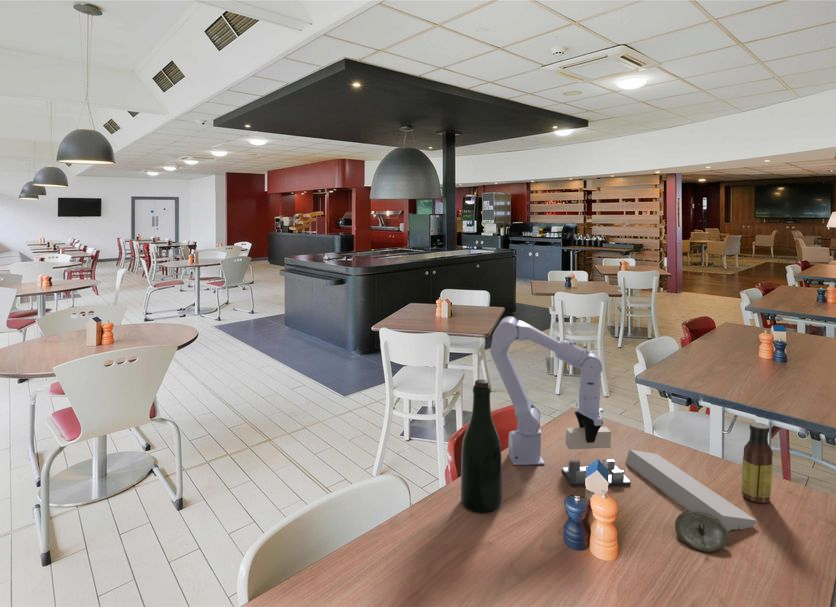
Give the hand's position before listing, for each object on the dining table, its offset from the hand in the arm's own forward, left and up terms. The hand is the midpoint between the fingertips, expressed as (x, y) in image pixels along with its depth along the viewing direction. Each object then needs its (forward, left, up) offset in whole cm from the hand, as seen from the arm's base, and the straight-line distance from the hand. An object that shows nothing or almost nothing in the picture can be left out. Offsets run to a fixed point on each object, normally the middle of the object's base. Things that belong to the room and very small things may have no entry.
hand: (587, 439), depth 142 cm
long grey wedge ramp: (+20, -15, -9) cm, 27 cm away
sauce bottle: (+37, -19, -9) cm, 42 cm away
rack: (0, -7, -8) cm, 11 cm away
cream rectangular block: (0, 0, -2) cm, 2 cm away
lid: (+13, -34, -9) cm, 38 cm away
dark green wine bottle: (-34, -18, -9) cm, 39 cm away
